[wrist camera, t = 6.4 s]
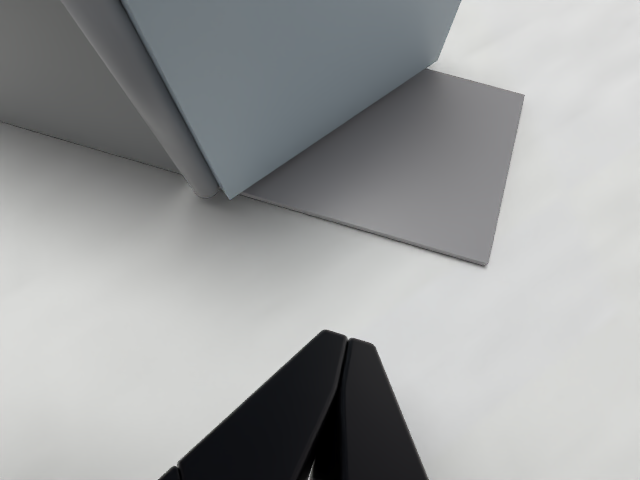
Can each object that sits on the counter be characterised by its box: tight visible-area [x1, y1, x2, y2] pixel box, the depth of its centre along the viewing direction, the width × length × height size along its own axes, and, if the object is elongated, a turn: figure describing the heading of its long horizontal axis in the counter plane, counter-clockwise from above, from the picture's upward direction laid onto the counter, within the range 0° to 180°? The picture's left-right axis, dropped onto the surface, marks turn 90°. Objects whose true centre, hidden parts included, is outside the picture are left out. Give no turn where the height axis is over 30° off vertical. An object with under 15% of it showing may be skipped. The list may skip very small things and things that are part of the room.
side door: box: [61, 0, 461, 200], centre depth 10 cm, size 1×9×9 cm, turn 126°
